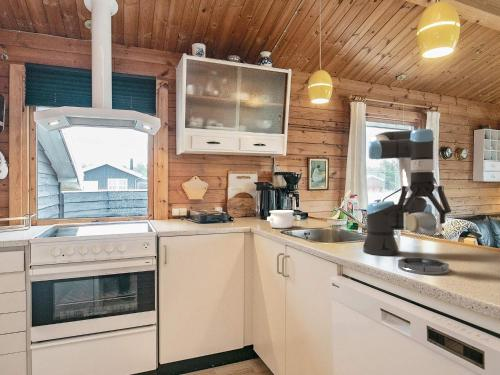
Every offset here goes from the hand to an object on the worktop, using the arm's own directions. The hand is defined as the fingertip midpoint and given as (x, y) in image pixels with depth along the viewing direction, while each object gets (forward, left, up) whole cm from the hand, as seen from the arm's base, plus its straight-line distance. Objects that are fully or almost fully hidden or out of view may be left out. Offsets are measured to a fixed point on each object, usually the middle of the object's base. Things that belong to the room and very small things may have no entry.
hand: (422, 231), depth 120 cm
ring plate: (0, 0, -14) cm, 14 cm away
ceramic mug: (+1, -1, -1) cm, 1 cm away
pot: (-112, +48, -14) cm, 123 cm away
